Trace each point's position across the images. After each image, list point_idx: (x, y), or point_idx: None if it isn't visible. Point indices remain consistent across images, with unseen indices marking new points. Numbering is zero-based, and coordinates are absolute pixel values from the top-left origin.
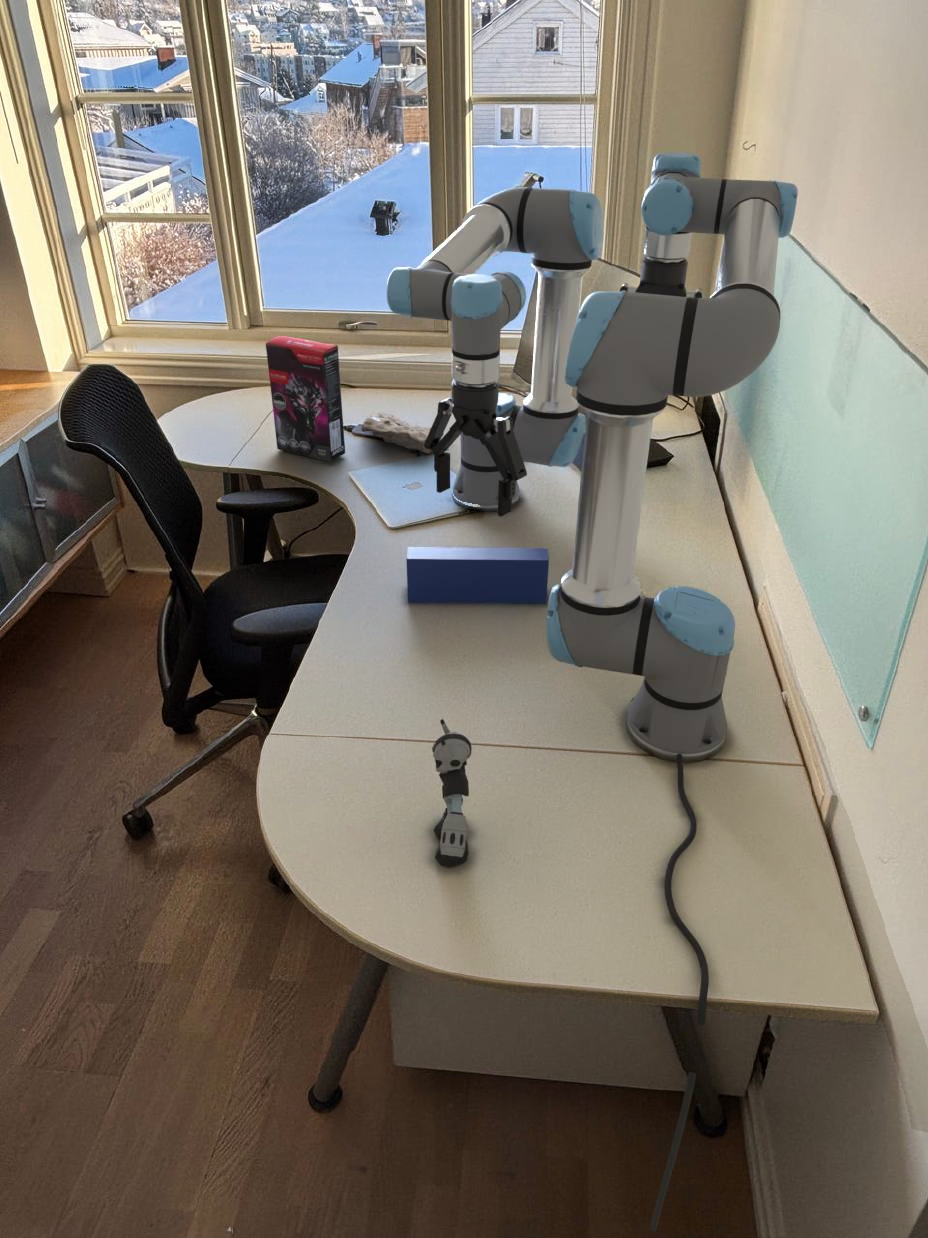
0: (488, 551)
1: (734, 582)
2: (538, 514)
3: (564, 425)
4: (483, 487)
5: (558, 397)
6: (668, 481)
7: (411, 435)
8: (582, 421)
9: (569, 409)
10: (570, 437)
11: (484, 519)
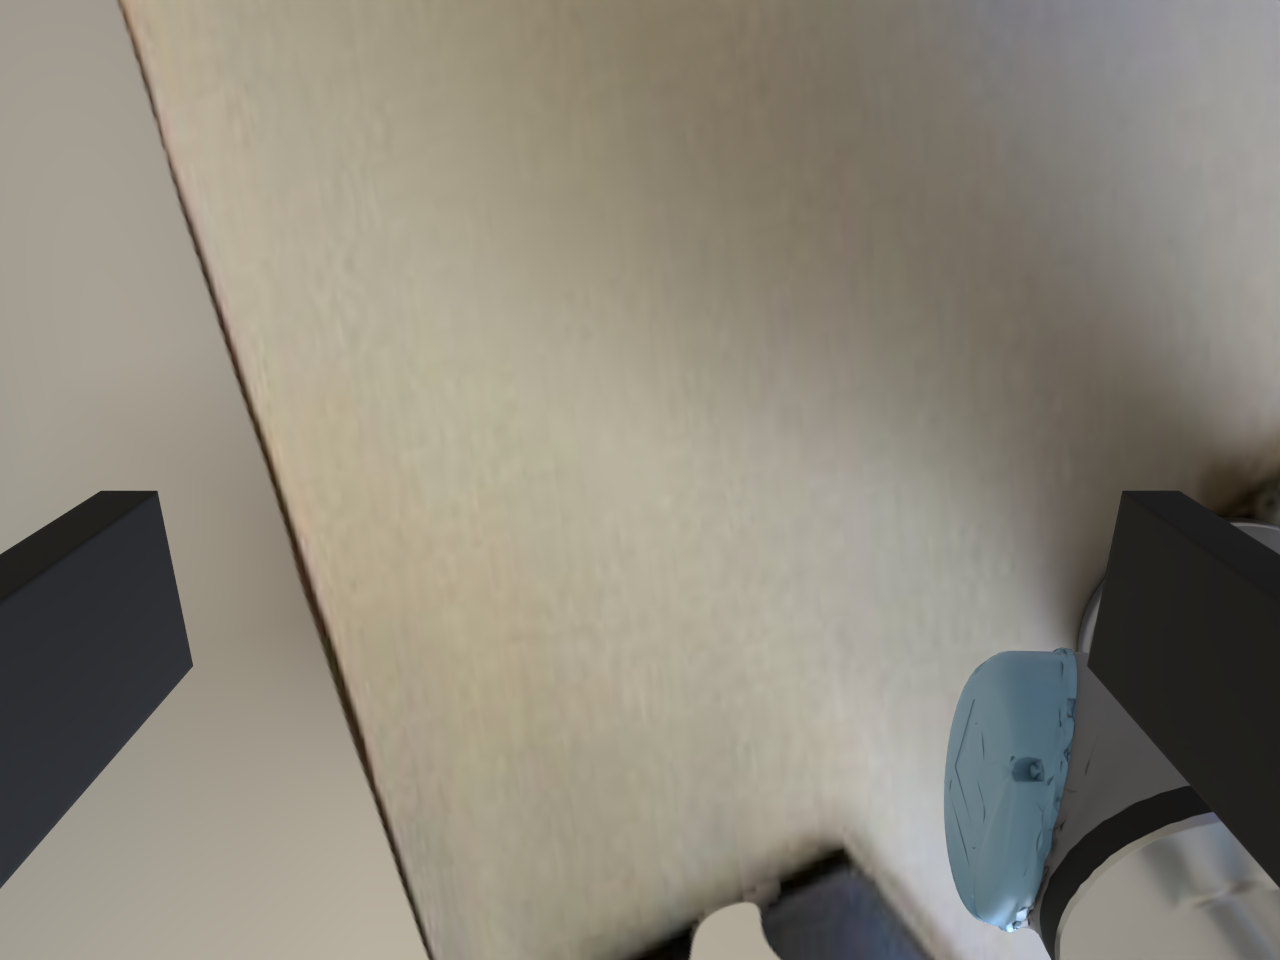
0: None
1: (248, 253)
2: (997, 551)
3: (1096, 783)
4: None
5: (1229, 920)
6: (573, 879)
7: None
8: (997, 857)
9: (1116, 869)
10: (1037, 723)
11: (1197, 463)
